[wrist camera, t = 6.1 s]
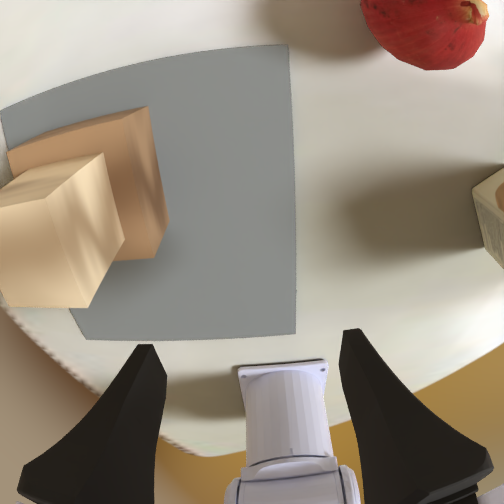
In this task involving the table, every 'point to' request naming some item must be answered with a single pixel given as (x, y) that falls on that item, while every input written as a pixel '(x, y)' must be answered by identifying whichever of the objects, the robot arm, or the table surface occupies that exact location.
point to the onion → (428, 30)
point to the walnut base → (112, 171)
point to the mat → (196, 194)
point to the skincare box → (491, 214)
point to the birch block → (58, 233)
